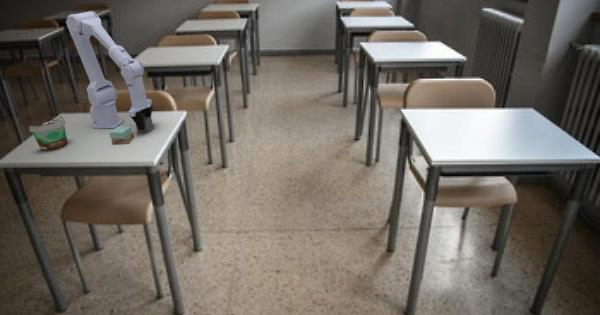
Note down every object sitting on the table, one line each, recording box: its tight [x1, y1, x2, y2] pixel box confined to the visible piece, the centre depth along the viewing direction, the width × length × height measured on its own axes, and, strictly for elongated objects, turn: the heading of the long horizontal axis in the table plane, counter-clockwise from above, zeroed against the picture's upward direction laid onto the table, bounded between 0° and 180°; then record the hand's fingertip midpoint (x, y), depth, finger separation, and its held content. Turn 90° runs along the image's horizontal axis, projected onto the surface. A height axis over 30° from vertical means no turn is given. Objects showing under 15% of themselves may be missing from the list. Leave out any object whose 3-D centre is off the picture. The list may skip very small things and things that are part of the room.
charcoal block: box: [135, 116, 154, 134], centre depth 164 cm, size 4×4×5 cm
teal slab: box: [108, 126, 133, 140], centre depth 155 cm, size 6×6×2 cm
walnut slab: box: [110, 131, 135, 145], centre depth 156 cm, size 6×6×2 cm
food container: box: [29, 115, 69, 152], centre depth 151 cm, size 12×6×10 cm, turn 148°
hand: (144, 127), depth 164 cm, fingers closed on charcoal block, 4 cm apart
